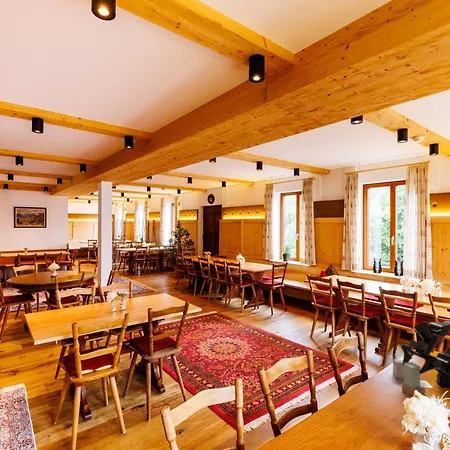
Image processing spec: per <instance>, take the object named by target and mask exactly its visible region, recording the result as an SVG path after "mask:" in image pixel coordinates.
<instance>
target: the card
mask: <svg viewBox="0 0 450 450" xmlns="http://www.w3.org/2000/svg"><path fill="white" fill-rule="evenodd" d="M420 385H422V386H424V387H425V388H426V389H434V387H433V386H432V385H431V384H430V383H429V382H427V381H426V380H420Z"/></svg>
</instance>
